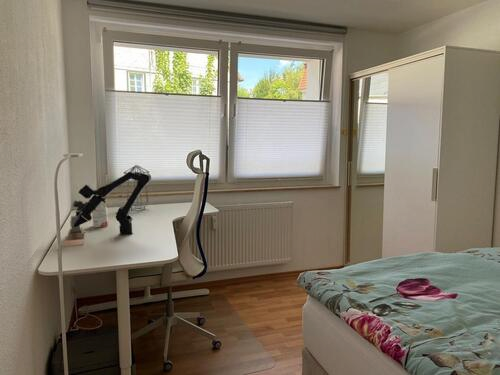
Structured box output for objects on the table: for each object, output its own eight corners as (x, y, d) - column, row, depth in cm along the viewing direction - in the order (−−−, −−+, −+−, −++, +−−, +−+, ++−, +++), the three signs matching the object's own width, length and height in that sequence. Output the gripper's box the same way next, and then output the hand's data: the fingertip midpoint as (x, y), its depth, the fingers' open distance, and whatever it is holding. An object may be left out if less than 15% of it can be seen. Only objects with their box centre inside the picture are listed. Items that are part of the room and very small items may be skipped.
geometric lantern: (123, 211, 286) (121, 165, 282) (135, 207, 300) (133, 164, 297) (141, 212, 281) (139, 165, 277) (152, 208, 296) (151, 164, 292)
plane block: (84, 233, 218) (84, 226, 218) (83, 238, 208) (83, 230, 208) (69, 235, 215) (68, 227, 215) (68, 240, 205) (67, 232, 205)
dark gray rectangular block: (80, 230, 214) (79, 215, 213) (79, 232, 210) (78, 216, 209) (71, 231, 212) (70, 216, 211) (70, 233, 209) (69, 217, 208)
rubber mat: (83, 240, 205) (83, 239, 205) (83, 245, 196) (82, 243, 196) (63, 242, 201) (63, 241, 201) (61, 247, 192) (61, 246, 192)
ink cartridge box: (108, 224, 241) (106, 202, 239) (107, 226, 237) (106, 203, 235) (94, 225, 239) (92, 203, 237) (92, 227, 234) (91, 204, 232)
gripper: (78, 193, 219) (59, 213, 214) (83, 197, 203) (62, 219, 199) (93, 204, 224) (75, 225, 220) (100, 210, 208) (79, 231, 204)
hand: (73, 225), depth 210 cm, fingers open, 9 cm apart
